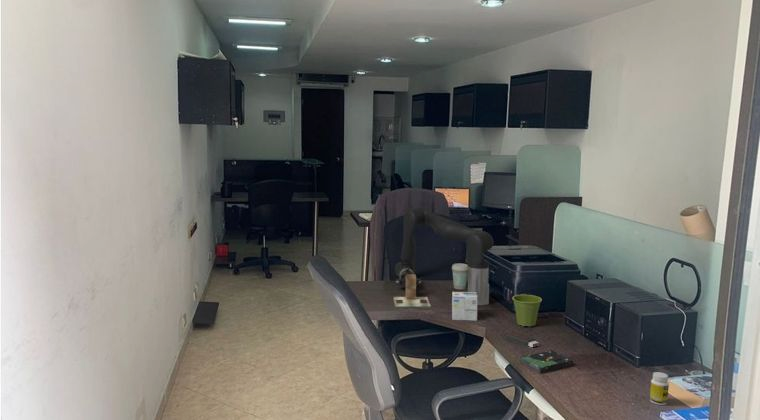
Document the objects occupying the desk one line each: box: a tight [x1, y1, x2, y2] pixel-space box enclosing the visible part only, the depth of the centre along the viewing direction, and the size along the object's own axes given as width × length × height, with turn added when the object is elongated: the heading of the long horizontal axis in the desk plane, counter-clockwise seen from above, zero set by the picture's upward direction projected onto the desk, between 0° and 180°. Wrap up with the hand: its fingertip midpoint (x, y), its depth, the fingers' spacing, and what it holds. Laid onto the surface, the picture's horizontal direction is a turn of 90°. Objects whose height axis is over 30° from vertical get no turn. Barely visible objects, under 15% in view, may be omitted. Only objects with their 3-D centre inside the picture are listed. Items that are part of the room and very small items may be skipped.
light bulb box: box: [451, 291, 478, 322], centre depth 245 cm, size 11×7×11 cm, turn 84°
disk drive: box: [519, 350, 574, 375], centre depth 197 cm, size 10×3×15 cm
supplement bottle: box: [649, 371, 670, 406], centre depth 170 cm, size 5×5×8 cm
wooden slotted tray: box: [392, 296, 431, 307], centre depth 265 cm, size 16×15×2 cm
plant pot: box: [511, 294, 543, 327], centre depth 237 cm, size 12×12×11 cm
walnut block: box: [404, 273, 417, 300], centre depth 269 cm, size 4×4×11 cm
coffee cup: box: [451, 262, 469, 290], centre depth 293 cm, size 8×9×12 cm
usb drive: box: [506, 332, 540, 348], centre depth 218 cm, size 5×12×3 cm, turn 35°
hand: (409, 285), depth 274 cm, fingers closed
